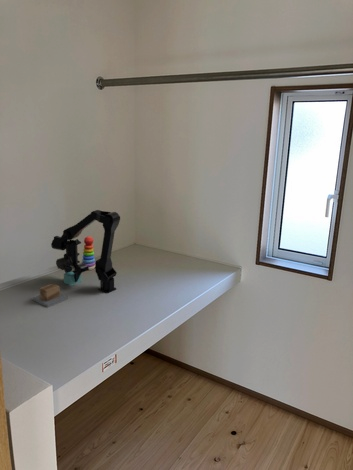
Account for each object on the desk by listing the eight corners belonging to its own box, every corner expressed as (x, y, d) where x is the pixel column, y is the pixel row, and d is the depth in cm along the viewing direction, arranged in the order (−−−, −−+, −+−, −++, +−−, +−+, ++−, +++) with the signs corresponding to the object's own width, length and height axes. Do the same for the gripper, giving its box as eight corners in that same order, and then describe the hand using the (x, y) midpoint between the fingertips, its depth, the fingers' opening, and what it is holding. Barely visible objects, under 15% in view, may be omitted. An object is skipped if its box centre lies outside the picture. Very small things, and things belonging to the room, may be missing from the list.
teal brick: (81, 281, 196) (81, 272, 194) (69, 285, 190) (69, 276, 189) (75, 279, 199) (75, 270, 197) (64, 282, 193) (63, 273, 192)
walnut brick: (59, 296, 175) (59, 286, 174) (47, 301, 170) (46, 291, 168) (52, 293, 178) (52, 283, 177) (40, 298, 172) (39, 288, 171)
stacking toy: (92, 271, 210) (91, 239, 205) (78, 269, 211) (78, 237, 206) (97, 266, 217) (97, 235, 212) (84, 265, 219) (84, 234, 214)
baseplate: (67, 298, 176) (67, 296, 175) (47, 307, 167) (47, 304, 166) (52, 292, 181) (52, 290, 181) (32, 300, 173) (32, 297, 172)
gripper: (46, 251, 188) (48, 280, 193) (71, 259, 178) (72, 290, 183) (64, 246, 197) (65, 274, 202) (89, 254, 187) (89, 283, 191)
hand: (72, 280), depth 194 cm, fingers closed on teal brick, 5 cm apart
